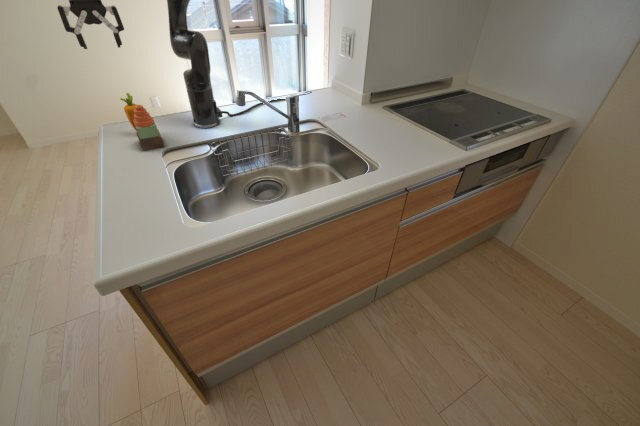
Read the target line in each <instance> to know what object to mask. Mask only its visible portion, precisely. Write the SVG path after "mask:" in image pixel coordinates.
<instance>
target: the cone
mask: <svg viewBox="0 0 640 426" xmlns="http://www.w3.org/2000/svg"><path fill="white" fill-rule="evenodd" d="M134 112H135V114H134V118H135V119H134V120H133V121H134V124H135V126H136V127H149V126H152V125H153V124H154V122H155V120H154V118H153V116H151V113H150V112H148V110H147V108H145V107H144V106H143V105H142V104H137V106H135V110H134Z"/></svg>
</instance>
